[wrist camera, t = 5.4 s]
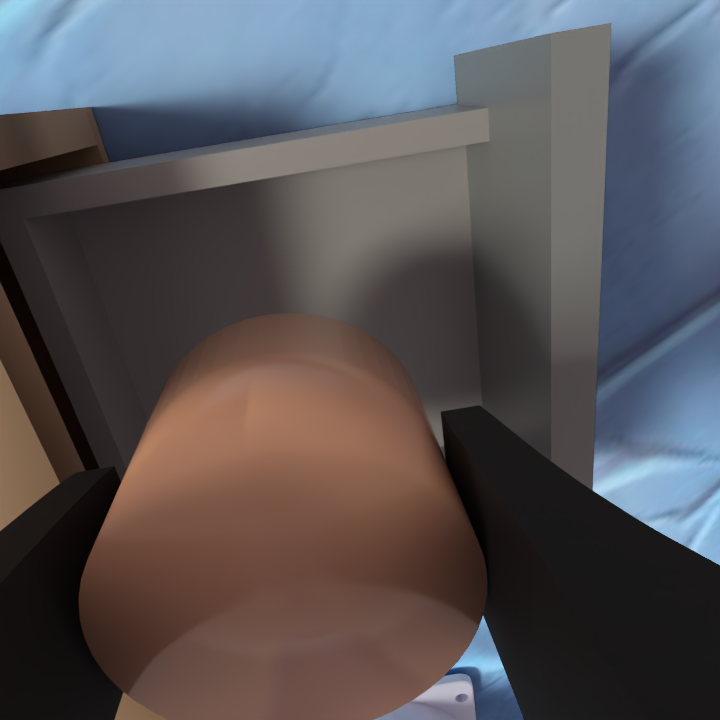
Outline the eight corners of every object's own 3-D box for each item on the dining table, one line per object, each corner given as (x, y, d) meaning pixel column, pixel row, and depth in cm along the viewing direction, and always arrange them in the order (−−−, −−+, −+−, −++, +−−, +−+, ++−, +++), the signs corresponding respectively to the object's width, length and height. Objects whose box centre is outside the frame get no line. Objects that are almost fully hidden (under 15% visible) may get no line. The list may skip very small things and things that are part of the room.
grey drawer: (489, 49, 13) (611, 22, 7) (507, 466, 18) (587, 624, 13) (21, 127, 13) (-184, 157, 7) (173, 522, 18) (114, 703, 13)
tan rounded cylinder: (421, 526, 12) (475, 714, 8) (179, 550, 12) (127, 759, 8) (425, 303, 10) (502, 428, 6) (128, 323, 9) (24, 469, 6)
